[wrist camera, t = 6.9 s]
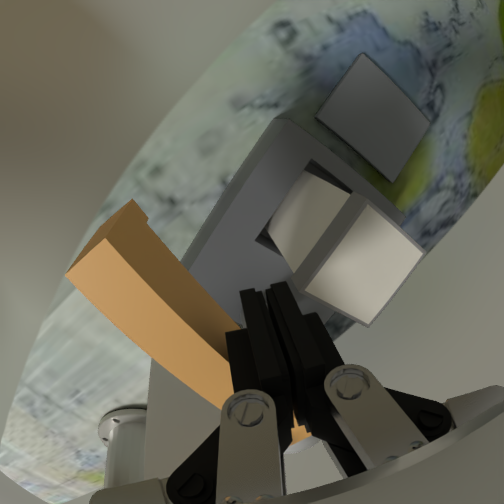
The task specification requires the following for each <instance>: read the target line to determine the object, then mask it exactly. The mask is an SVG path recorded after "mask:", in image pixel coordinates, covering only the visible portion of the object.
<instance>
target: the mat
mask: <svg viewBox="0 0 504 504" xmlns="http://www.w3.org/2000/svg"><path fill="white" fill-rule="evenodd" d="M314 117H315V118H316V119H317V120H318V121H320V122H321V123H322V124H323V125H325V126H326V127H327V128H329V129H330V130H331V131H332V132H333V133H335V134H336V135H337V136H338V137H340V138H341V139H342V140H343V141H344V142H346V143H347V144H348V145H349V146H350V147H351V148H353V149H354V150H355V151H356V152H357V153H358V154H360V155H361V156H362V157H363V158H364V159H365V160H366V161H367V162H369V163H370V164H371V165H372V166H373V167H374V168H375V169H376V170H377V171H378V172H380V173H381V174H382V175H383V176H384V177H385V178H386V179H387V180H388V181H389V182H391V183H393V182H394V181H395V179H396V178H397V176H398V175H399V173H400V172H401V170H402V169H403V167H404V166H405V164H406V162H407V161H408V159H409V158H410V156H411V155H412V153H413V151H414V150H415V148H416V147H417V145H418V143H419V142H420V140H421V139H422V137H423V135H424V134H425V132H426V130H427V129H428V127H429V126H430V122H429V121H428V120H427V119H426V118H425V116H424V115H423V114H422V113H421V112H420V111H419V110H418V108H417V107H416V106H415V105H414V104H413V103H412V102H411V101H410V99H409V98H408V97H407V96H406V95H405V94H404V93H403V92H402V91H401V90H400V89H399V88H398V87H397V86H396V85H395V84H394V83H393V82H392V81H391V80H390V79H389V78H388V77H387V76H386V75H385V74H384V73H383V72H382V71H381V70H380V69H379V68H378V67H377V66H376V65H375V64H374V63H373V62H372V61H371V60H370V59H369V58H367V57H366V56H365V55H364V54H363V53H362V54H359V55H358V57H357V58H356V59H355V61H354V62H353V63H352V65H351V66H350V67H349V69H348V70H347V72H346V73H345V74H344V76H343V77H342V79H341V80H340V81H339V83H338V84H337V85H336V87H335V88H334V90H333V91H332V92H331V94H330V95H329V97H328V98H327V99H326V101H325V102H324V104H323V105H322V106H321V108H320V109H319V111H318V112H317V114H316V115H315V116H314Z"/></svg>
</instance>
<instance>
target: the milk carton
mask: <svg viewBox="0 0 504 504" xmlns="http://www.w3.org/2000/svg"><path fill="white" fill-rule="evenodd" d="M220 420H221V410H220V409H219V408H217V407H216V406H215V405H213V404H212V403H210V402H209V401H208V400H206V399H205V398H203V397H202V396H201V395H199V394H198V393H196V392H195V391H194V390H192V389H191V388H190V387H188V386H187V385H186V384H184V383H183V382H182V381H181V380H179V379H178V378H177V377H175V376H174V375H173V374H172V373H170V372H169V371H168V370H167V369H165V368H164V367H163V366H162V365H160V364H159V363H158V362H157V361H155V360H154V359H153V358H151V368H150V378H149V390H148V402H147V417H146V435H145V460H144V481H145V480H149V479H153V478H157V477H158V478H159V479H163V478H167V477H170V475H171V474H172V473H173V472H174V471H175V470H176V469H177V468H178V467H179V466H180V465H181V464H182V463H183V462H184V461H185V460H186V459H187V458H188V457H189V456H190V455H191V454H192V453H193V452H194V451H195V450H196V449H197V448H198V447H199V446H200V445H201V444H202V443H203V442H204V441H205V440H206V439H207V438H208V436H209V435H210V434H211V433H212V432H213V431H214V430H215V429H216V428H217V427H218V426H219V425H220Z"/></svg>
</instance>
